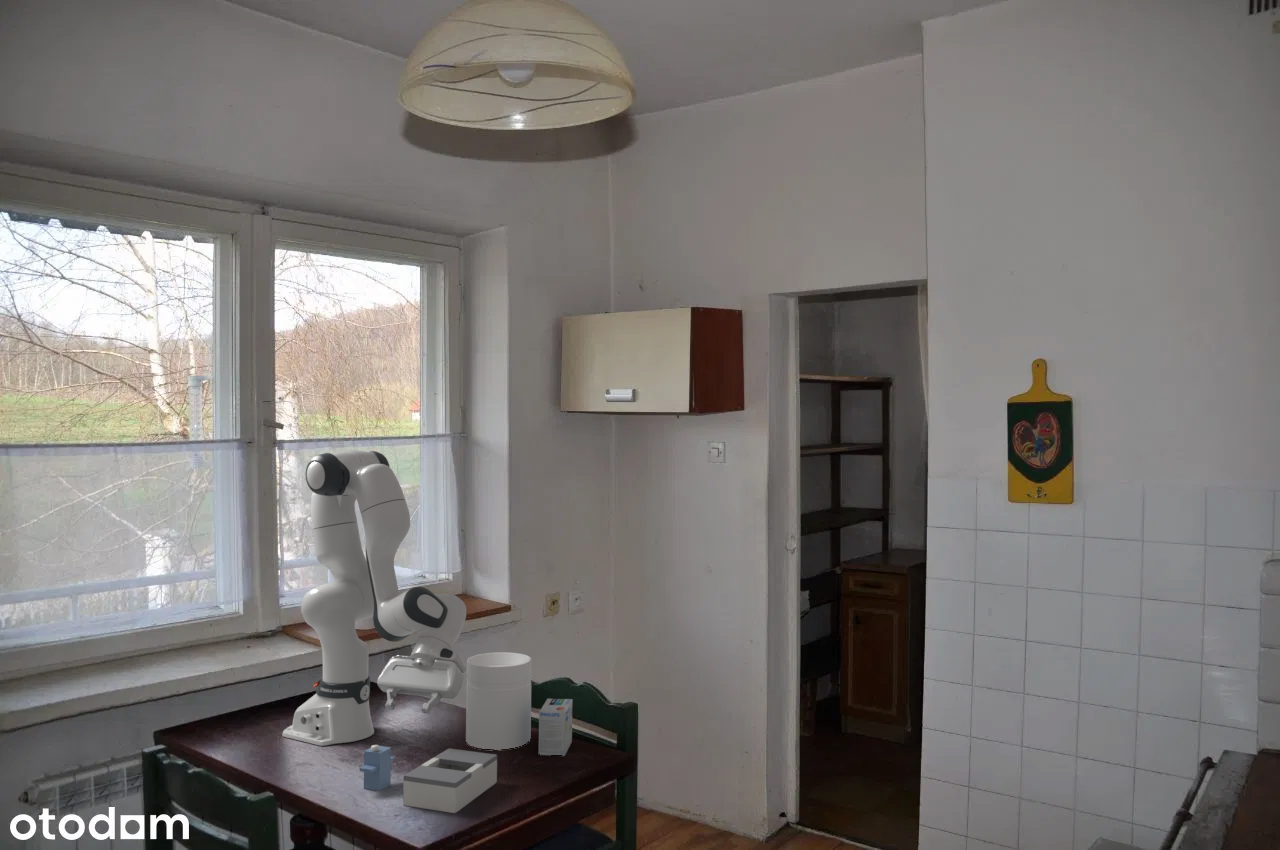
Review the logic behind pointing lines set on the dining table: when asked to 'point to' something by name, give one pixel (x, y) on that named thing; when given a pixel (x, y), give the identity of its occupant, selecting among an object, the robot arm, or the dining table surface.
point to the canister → (498, 700)
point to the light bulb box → (555, 727)
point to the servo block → (377, 767)
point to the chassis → (450, 780)
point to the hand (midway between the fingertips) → (406, 710)
